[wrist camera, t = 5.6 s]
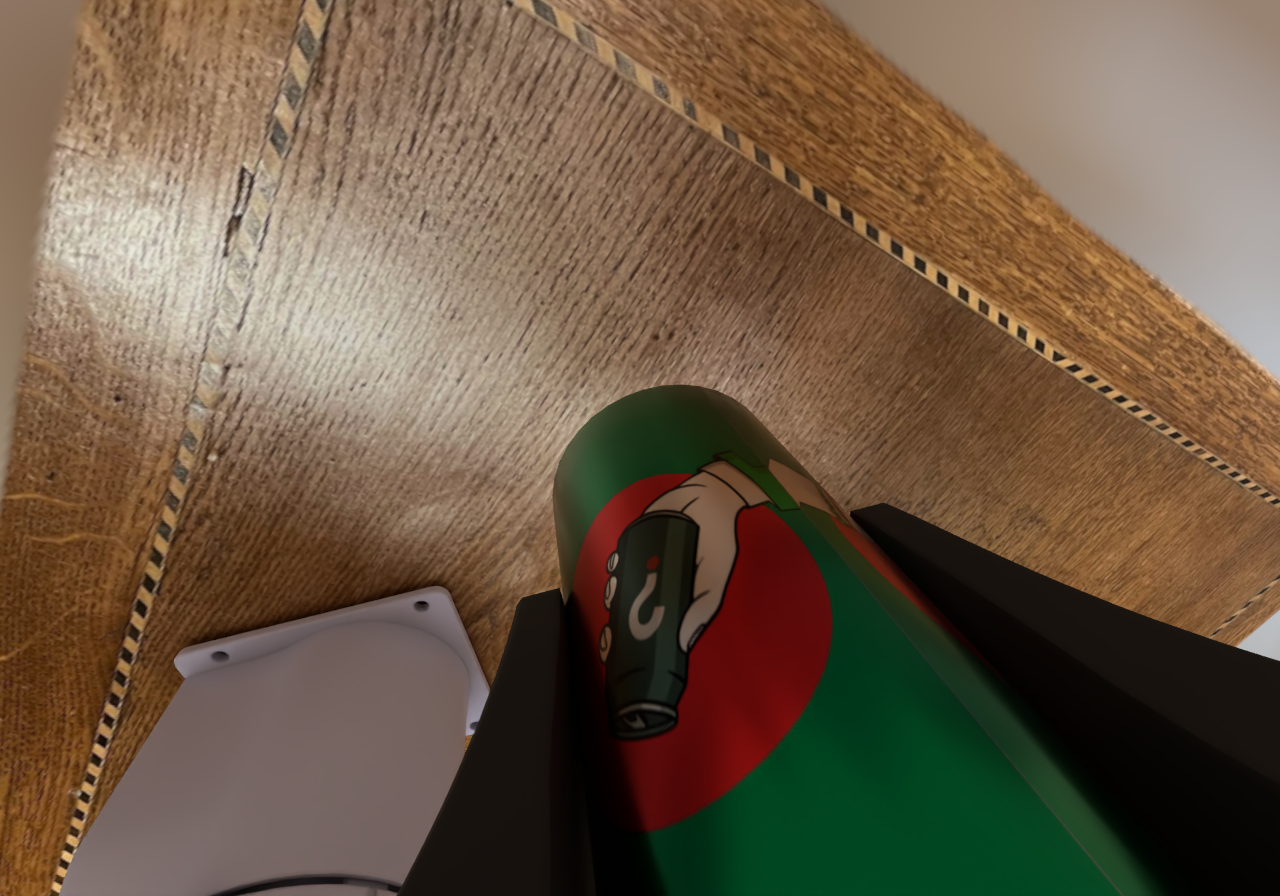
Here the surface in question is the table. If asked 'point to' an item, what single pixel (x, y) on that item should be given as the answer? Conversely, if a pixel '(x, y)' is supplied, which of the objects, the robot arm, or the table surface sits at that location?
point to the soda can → (796, 691)
